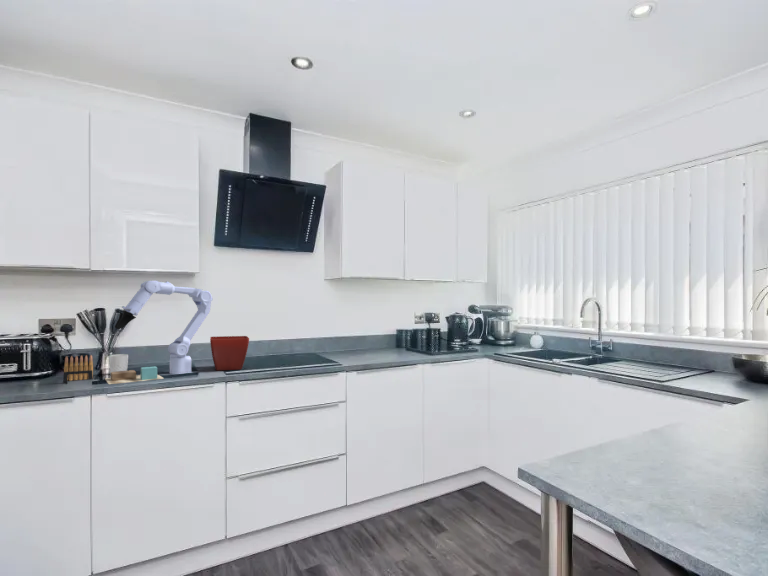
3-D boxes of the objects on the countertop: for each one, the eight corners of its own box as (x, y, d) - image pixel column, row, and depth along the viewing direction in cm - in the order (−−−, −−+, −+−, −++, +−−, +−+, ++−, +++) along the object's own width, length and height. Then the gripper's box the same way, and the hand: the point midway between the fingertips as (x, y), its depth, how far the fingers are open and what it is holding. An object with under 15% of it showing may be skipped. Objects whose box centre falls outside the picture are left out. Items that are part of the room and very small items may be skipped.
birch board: (156, 375, 199) (156, 373, 199) (164, 380, 186) (164, 378, 186) (104, 380, 186) (104, 378, 186) (108, 386, 173) (108, 384, 173)
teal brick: (155, 377, 189) (155, 366, 189) (157, 378, 186) (157, 367, 186) (140, 378, 185) (140, 367, 186) (142, 380, 182) (142, 368, 182)
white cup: (124, 373, 204) (125, 353, 204) (130, 375, 199) (131, 354, 199) (106, 375, 198) (106, 355, 198) (112, 377, 193) (112, 356, 193)
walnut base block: (133, 376, 191) (133, 370, 191) (136, 378, 185) (136, 372, 185) (110, 378, 185) (110, 372, 185) (112, 381, 180) (112, 374, 180)
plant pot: (246, 365, 233) (246, 335, 233) (249, 370, 215) (249, 338, 216) (209, 367, 225) (210, 336, 226) (209, 372, 208) (210, 339, 208)
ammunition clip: (93, 380, 185) (93, 354, 186) (92, 381, 184) (93, 354, 184) (63, 383, 180) (64, 355, 181) (62, 383, 179) (63, 356, 179)
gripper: (126, 299, 192) (107, 324, 186) (132, 296, 181) (111, 322, 175) (140, 307, 195) (122, 332, 189) (147, 304, 185) (127, 330, 178)
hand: (118, 328), depth 182 cm, fingers open, 7 cm apart
